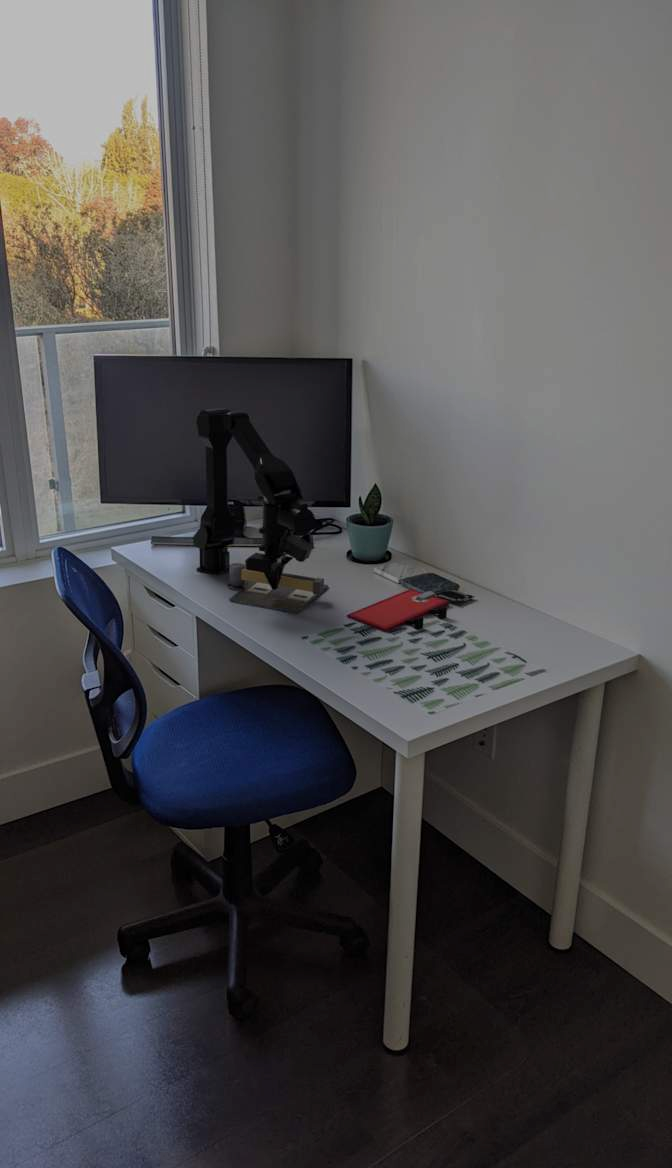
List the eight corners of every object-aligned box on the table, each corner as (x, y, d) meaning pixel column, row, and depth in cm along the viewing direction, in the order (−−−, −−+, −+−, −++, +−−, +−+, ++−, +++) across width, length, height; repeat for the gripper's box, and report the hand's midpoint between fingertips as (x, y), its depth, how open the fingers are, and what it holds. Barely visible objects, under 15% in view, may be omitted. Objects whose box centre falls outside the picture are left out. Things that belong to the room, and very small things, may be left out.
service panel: (210, 597, 208) (210, 593, 208) (245, 573, 224) (245, 569, 223) (298, 613, 201) (298, 610, 201) (328, 587, 217) (328, 583, 216)
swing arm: (227, 584, 214) (226, 566, 212) (234, 579, 217) (233, 562, 215) (318, 600, 206) (318, 582, 205) (324, 595, 209) (324, 577, 208)
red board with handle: (481, 602, 212) (430, 586, 221) (482, 591, 211) (430, 575, 220) (399, 640, 191) (346, 620, 201) (399, 628, 190) (346, 608, 200)
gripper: (292, 540, 190) (290, 609, 196) (325, 517, 207) (322, 581, 212) (244, 532, 194) (243, 600, 200) (280, 510, 210) (279, 574, 216)
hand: (274, 589), depth 207 cm, fingers closed
